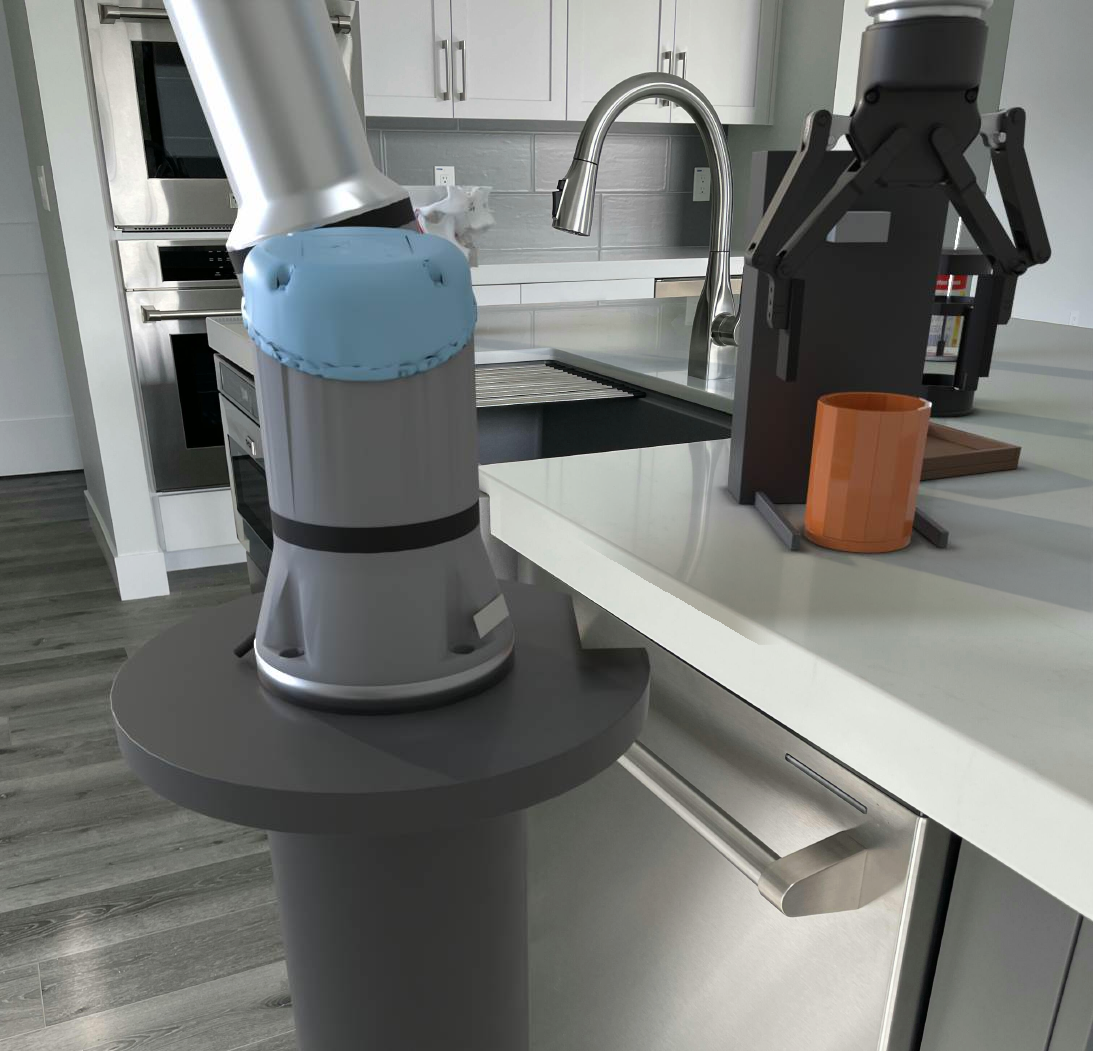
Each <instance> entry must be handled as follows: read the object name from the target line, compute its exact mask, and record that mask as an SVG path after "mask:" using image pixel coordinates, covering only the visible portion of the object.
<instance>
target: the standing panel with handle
mask: <svg viewBox="0 0 1093 1051" xmlns="http://www.w3.org/2000/svg"><path fill="white" fill-rule="evenodd" d="M797 151H798V149H797V150H796V149H795V150H794V149H793V150H791V149H790V150H788V149H787V150H786V149H785V150H784V149H781V150H778V149H773V150H772V149H771V150H756V151H752V153H751V154H752V156H751V166H750V178H749V179H750V180H749V191H748V192H749V193H748V194H749V195H748V207H747V220H746V232H745V247H744V253H745V252H746V250H747V248H748V246H749V244H750V242H751V240H752V238H753V236H754V235H755V233H756V231H757V229H758V227H759V225H760V223H761V221H762V219H763V217H764V215H765V213H766V211H767V209H768V207H769V205H770V203H771V202H772V200H773V198H774V196H775V194H776V192H777V190H778V188H779V186H780V184H781V182H782V180H783V178H784V176H785V174H786V172H787V170H788V169H789V167H790V165H791V163H792V161H793V159H794V157H795V155H796V153H797ZM855 158H856V157H855V155H854V153H853V151H852V149H832V150H829V151H826V152H825V155H824V158H823V160H822V162H821V164H820V166H819V168H818V170H817V172H816V174H815V176H814V178H813V180H812V182H811V184H810V185H809V187H808V189H807V191H806V193H805V195H804V197H803V199H802V201H801V203H800V204H799V206H798V208H797V210H796V212H795V214H794V216H793V218H792V220H791V222H790V223H789V225H788V227H787V229H786V231H785V233H784V235H783V237H782V239H781V241H780V242H779V244H778V246H777V248H776V250H775V252H774V254H775V255H777V254H778V253H779V251H780V250H781V249H782V248H783V247H784V245H785V244H786V243H787V242H788V241H789V239H790V238H791V237H792V236H793V235H794V233H795V232H796V231H797V230H798V229H799V227H800V226H801V225H802V224H803V223H804V222H805V220H806V219H807V218H808V217H809V216H810V214H811V213H812V212H813V211H814V210H815V208H816V207H817V206H818V205H819V204H820V202H821V201H822V200H823V199H824V198H825V196H826V195H827V194H828V193H829V192H830V190H831V189H832V188H833V187H834V186H835V184H836V183H837V180H838V179H839V177H840V176H841V175H842V173H843V172H844V171H845V170H846V169H847V167H848V166H849V165H850V164H851V163H852V161H853V160H854V159H855ZM949 207H950V200H949V198H948V197H947V195H946V194H945V193H944V192H942V190H941V189H940V188H939V186H938V185H937V184H936V185H934V187H924V188H921V187H909V186H903V187H899V188H877V186H875V185H872V186H871V187H870V188H869V190H868V191H867V192H866V193H864V194H863V195H862V196H860V197H859V198H858V200H857V201H856V202H855V203H854V204H853V205H852V207H851V208H850V209H849V210H848V211H847V213H846V214H845V215H844V216H843V217H842V218H841V220H840V221H839V222H838V223H837V224H836V225H835V227H834V228H833V229H832V230H831V231H830V233H829V234H828V235H827V236H826V237H825V238H824V240H823V241H822V242H821V243H820V244H819V245H818V247H817V248H816V249H815V250H814V251H813V253H812V254H811V255H810V256H809V257H808V258H807V260H806V261H805V262H804V263H803V264H802V266H801V267H800V268H799V269H798V270H797V271H796V273H795V274H794V275H793V277H796V278H799V279H802V280H805V290H804V301H803V312H802V323H801V334H800V345H799V356H798V367H797V378H796V381H795V382H785V381H784V380H782V379H781V378H780V377H778V376H777V375H776V372H777V360H778V348H779V335H780V329H772V328H770V327H769V325H768V322H767V311H768V297H769V284H770V281H769V277H768V275H767V274H766V273H765V272H763V271H760V270H758V269H755V268H753V267H750V266H748V265H747V264H746V263H745V261H744V260H743V272H742V284H741V285H742V286H741V299H740V313H739V324H738V325H739V326H738V337H737V338H738V339H737V340H738V341H737V353H736V365H735V380H734V393H733V406H732V416H731V417H732V418H731V419H732V420H731V431H730V444H729V448H730V449H729V458H728V470H727V471H728V472H727V483H726V484H727V486H726V489H727V490H728V491H729V493H730V494H731V495H732V497H733V498H734V500H735V501H736V502H737V503H738V504H739V505H754V507H755V508H756V509H757V511H758V512H759V513H760V514H761V516H763V518H764V519H765V520H766V522H767V523H768V524H769V525H770V526H771V527H772V529H773V530H774V531H775V532H776V534H777V535H778V537H780V538H781V540H782V541H783V542H784V543H785V545H786V546H787V547H788V548H789V549H790V551H799V550H800V544H801V543H800V542H801V534H800V532H798V530H797V529H796V528H795V527H794V526H793V524H791V522H790V521H789V520H788V519H787V517H785V516H784V514H783V513H782V512H781V511H780V510H779V509H778V507H777V506H776V505H775V504H807V495H808V486H809V477H810V467H811V458H812V449H813V440H814V431H815V422H816V413H817V404H818V400H819V398H820V397H821V396H824V395H828V394H832V393H842V392H883V393H894V394H902V395H909V396H914V397H918V398H920V391H921V384H922V378H923V373H924V371H925V364H926V361H925V358H926V352H927V345H928V338H929V332H930V325H931V319H932V312H933V306H934V299H935V292H936V286H937V279H938V273H939V266H940V260H941V253H942V247H944V239H945V233H946V226H947V220H948V215H949V214H948V213H949ZM913 528H914V529H915V530H916V531H918V532H919V533H921V534H922V535H923V536H924V537H925V538H927V540H929V541H930V542H931V543H933V544H934V545H935V546H936V547H938V548H939V549H941V548H944V549H945V548H947V546H948V539H949V535H950V531H948V530H947V529H946V528H944V527H943V526H942V525H941V524H939V523H938V522H937V521H935V519H933V518H932V517H930V516H929V515H927V514H926V513H925V511H922V510H921V509H920V508H919V507H918V506H916V509H915V515H914V521H913Z"/></svg>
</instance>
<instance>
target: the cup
mask: <svg viewBox="0 0 1093 1051" xmlns="http://www.w3.org/2000/svg"><path fill="white" fill-rule="evenodd" d="M931 407H932V403H931V402H929V401H927V400H925V399H922V398H918V397H914V396H909V395H902V394H894V393H883V392H842V393H832V394H828V395H824V396H821V397H820V398H819V400H818V404H817V413H816V422H815V431H814V440H813V449H812V458H811V467H810V477H809V486H808V495H807V503H805V513H804V514H805V515H804V523H803V524H804V529H803V534H804V537H805V538H806V539H807V540H808V541H809V542H811V543H813V544H815V545H817V546H821V547H824V548H826V549H832V550H836V551H840V552H841V551H842V552H848V553H861V554H862V553H863V554H871V553H872V554H875V553H876V554H877V553H889V552H895V551H899V550H902V549H904V548H906V547H907V546H909V544H910V543H911V540H912V532H913V528H914V527H913V521H914V515H915V509H916V507H917V502H918V495H919V488H920V483H921V480H920V477H921V471H922V464H923V458H924V452H925V445H926V439H927V433H928V426H929V422H930V419H931V416H930V414H931Z"/></svg>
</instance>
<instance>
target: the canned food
mask: <svg viewBox="0 0 1093 1051" xmlns="http://www.w3.org/2000/svg"><path fill="white" fill-rule="evenodd" d="M949 281H950V275H938V279H937V286H936V292H935V295H947V293H948V287H949ZM967 282H968V276H957V275H954V277H953V283H952V290H951V295H953V296H966V295H965V294H966V289H967ZM943 319H944V316H935V315H932V319H931V325H930V332H929V338H928V345H927V346H937V343H938V341H939V340H940V338H941V331H942V325H943ZM961 320H962V316H947V321H946V327H945V334H944V341H945V347H956V348H957V344H958V338H959V331H960V326H961Z"/></svg>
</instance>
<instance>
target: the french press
mask: <svg viewBox="0 0 1093 1051" xmlns="http://www.w3.org/2000/svg"><path fill="white" fill-rule="evenodd" d="M981 191H982V192H983V194H984V195H985V194H987V192H986V191H984V190H982V189H981ZM962 226H963V221H962V220H961V218H960V216H959V218H958V224H957V231H956V237H955V243H954V246H942V253H941V260H940V266H939V273H938V275H950V281H949V287H948V293H947V295H935V299H934V306H933V312H932V315H935V316H944V319H943V325H942V331H941V338H940V340H939V341H938V343H937V346H927V352H926V358H925V362H932V363H955V368H954V373H953V374H950V373H935V372H923V378H922V384H921V391H920V398H922V399H925V400H927V401H929V402H931V403H932V407H931V414H930V418H931V417H932V418H933V417H935V418H952V417H962V416H968V415H972V414H973V413H974V410H975V406H974V405H973V404H974V399H975V392H977V391H978V387H979V381H980V377H976V376H973V375H971V374H968V373H966V372H964V371H963V366H964V360H965V354H966V348H967V341H968V335H969V329H970V322H971V316H972V310H973V304H974V297H975V296H970V295H969V296H968V295H965V296H953V295H951V290H952V283H953V277H954V275H957V276H978V274H992V272H993V270H992V269H991V267H990V265H989V264H988V262H987V260H986V259H985V257H984V255H983V254H982V252H981V251H980V249H979V247H974V246H959V245H960V239H961V233H962ZM947 316H961V317H963V319H962V324H961V329H960V337H959V343H958V347H957V346H956V347H945V341H944V334H945V327H946V321H947Z"/></svg>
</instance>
